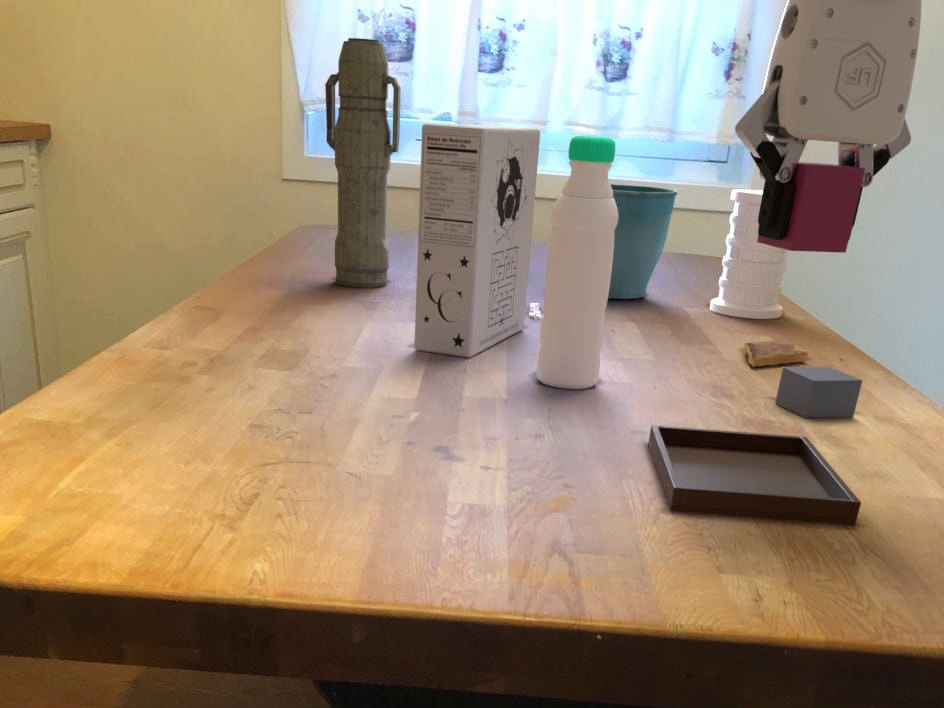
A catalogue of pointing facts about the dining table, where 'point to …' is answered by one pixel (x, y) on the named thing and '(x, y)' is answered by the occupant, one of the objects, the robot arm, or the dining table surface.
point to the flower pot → (638, 237)
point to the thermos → (362, 160)
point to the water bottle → (579, 268)
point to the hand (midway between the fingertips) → (803, 236)
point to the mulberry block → (821, 208)
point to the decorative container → (749, 265)
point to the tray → (749, 476)
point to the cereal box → (473, 235)
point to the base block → (818, 392)
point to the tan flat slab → (773, 353)
